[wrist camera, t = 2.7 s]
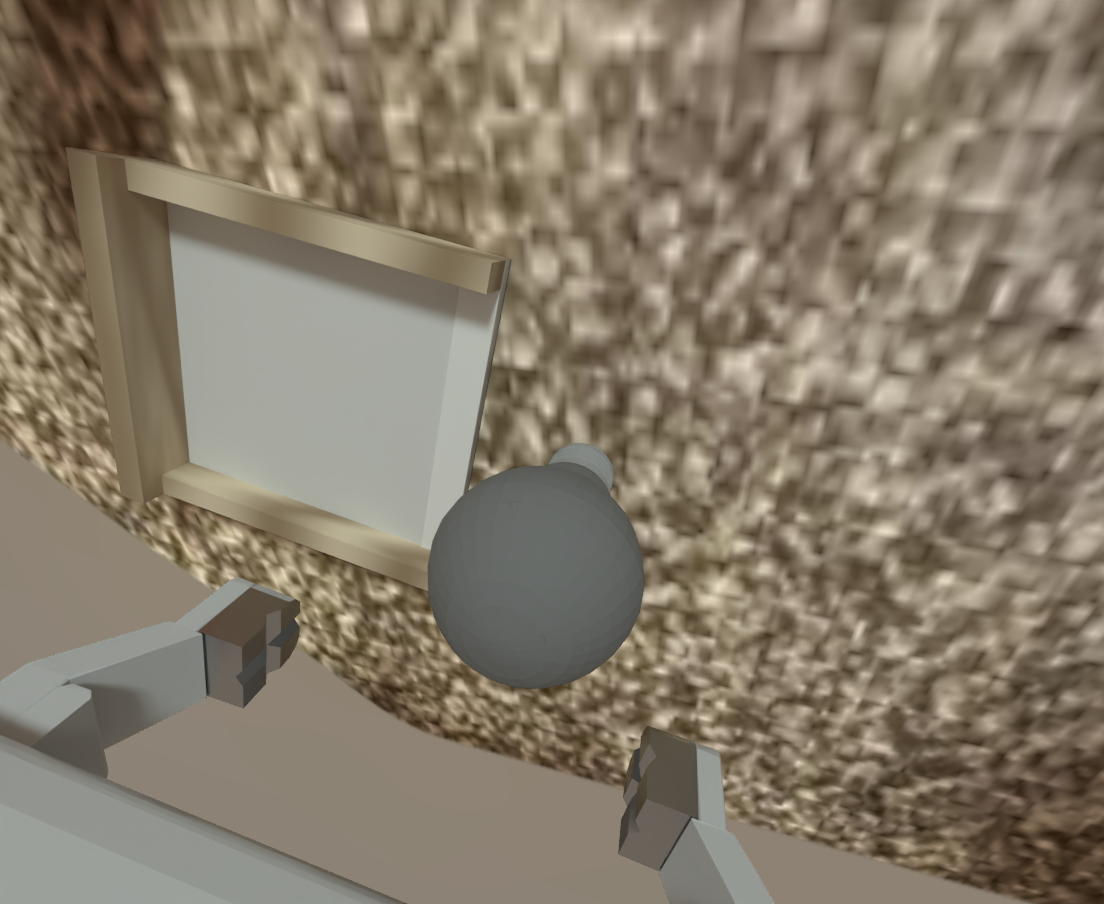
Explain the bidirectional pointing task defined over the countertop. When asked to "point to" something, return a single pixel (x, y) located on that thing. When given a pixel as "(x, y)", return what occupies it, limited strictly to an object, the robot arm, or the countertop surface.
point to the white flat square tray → (311, 369)
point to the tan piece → (153, 343)
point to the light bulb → (537, 572)
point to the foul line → (462, 400)
